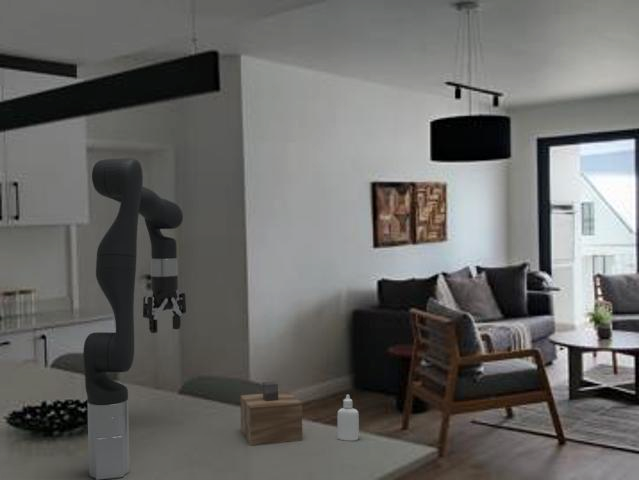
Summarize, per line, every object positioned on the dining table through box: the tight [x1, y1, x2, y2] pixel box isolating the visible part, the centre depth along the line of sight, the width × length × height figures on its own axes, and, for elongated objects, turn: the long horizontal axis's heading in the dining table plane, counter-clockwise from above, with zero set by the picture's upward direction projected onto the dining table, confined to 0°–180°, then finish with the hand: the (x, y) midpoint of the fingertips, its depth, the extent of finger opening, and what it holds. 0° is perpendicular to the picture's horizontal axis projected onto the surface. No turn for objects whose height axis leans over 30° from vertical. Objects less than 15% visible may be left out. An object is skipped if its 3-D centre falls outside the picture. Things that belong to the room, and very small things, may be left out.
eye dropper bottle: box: [336, 394, 360, 442], centre depth 197 cm, size 4×6×12 cm
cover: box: [239, 380, 303, 446], centre depth 201 cm, size 14×14×14 cm
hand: (165, 330), depth 209 cm, fingers open, 8 cm apart
